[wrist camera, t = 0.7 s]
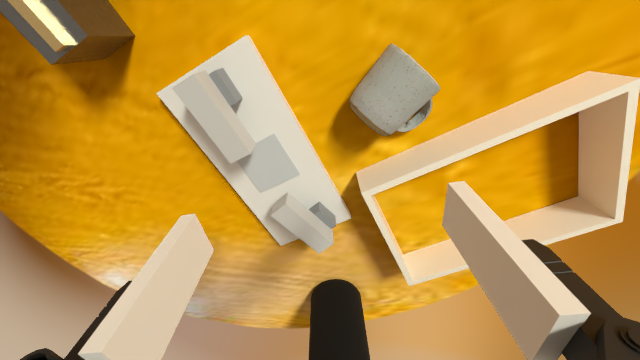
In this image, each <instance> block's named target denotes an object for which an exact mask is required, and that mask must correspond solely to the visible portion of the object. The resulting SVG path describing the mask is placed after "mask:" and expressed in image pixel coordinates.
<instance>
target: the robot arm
mask: <svg viewBox="0 0 640 360" xmlns="http://www.w3.org/2000/svg"><path fill="white" fill-rule="evenodd" d="M442 226H443V227H444V229H445V230H446V232H447V233H448V235H449V237H450V238H451V240H452V241H453V243H454V245H455V246H456V248H457V249H458V251H459V252H460V254H461V256H462V257H463V259H464V260H465V262H466V264H467V265H468V267H469V268H470V270H471V272H472V273H473V275H474V276H475V278H476V279H477V281H478V283H479V284H480V286H481V287H482V289H483V291H484V292H485V294H486V295H487V297H488V299H489V300H490V302H491V303H492V305H493V306H494V308H495V309H496V311H497V313H498V314H499V316H500V317H501V319H502V321H503V322H504V324H505V326H506V327H507V329H508V330H509V332H510V333H511V335H512V337H513V338H514V340H515V341H516V343H517V344H518V346H519V348H520V349H521V351H522V352H523V354H524V356H525V357H526V359H527V360H558V358H559V357H560V355H561V354H563V355H564V356H565V358H566V359H567V360H640V323H639V322H637V321H633V320H630V319H626V318H623V317H622V316H621V315H619V314H618V313H617V312H616V311H615V310H614V309H613V308H612V307H611V306H610V305H608V304H607V303H606V302H605V301H604V300H603V299H602V298H601V297H600V296H599V295H598V294H597V293H596V292H595V291H594V290H593V289H591V287H590V286H588V285H587V284H586V283H585V282H584V281H583V280H582V279H581V278H580V277H579V276H578V275H577V274H576V273H573V272H572V269H570V268H569V267H568V266H567V265H566V264H565V263H563V262H562V260H561V259H560V258H559V257H558V256H557V255H556V254H555V253H554V252H553V251H552V250H550V249H549V248H548V247H546V246H544V245H543V244H541V243H539V242H538V241H536V240H534V239H527V240H520V239H519V238H518V237H517V235H516V234H515V233H514V232H513V231H512V230H511V229H510V228H509V227H508V226H507V225H506V224H505V223H504V222H503V221H502V220H501V219H500V218H499V217H498V216H497V215H496V214H495V213H494V212H493V210H492V209H491V208H490V207H489V206H488V205H487V204H486V203H485V202H484V201H483V200H482V199H481V198H480V197H479V196H478V195H477V194H476V193H475V192H474V191H473V190H472V189H471V188H470V187H469V186H468V184H467V183H466V182H465V181H460V182H452V183H448V188H447V195H446V202H445V209H444V216H443V223H442ZM213 251H214V249H213V247H212V245H211V243H210V241H209V239H208V238H207V236H206V234H205V232H204V230H203V228H202V226H201V224H200V222H199V220H198V218H197V216H196V215H195V214H189V215H181V217H180V218H179V219H178V221H177V222H176V223H175V225H174V226H173V227H172V229H171V230H170V231H169V233H168V234H167V235H166V237H165V238H164V239H163V241H162V242H161V243H160V245H159V246H158V247H157V249H156V250H155V251H154V253H153V254H152V255H151V257H150V258H149V259H148V261H147V262H146V263H145V265H144V266H143V267H142V269H141V270H140V271H139V273H138V274H137V275H136V277H135V278H134V279H133V281H128V282H127V283H126V284H125V285H124V286H123V287H122V288H120V289H119V290H118V291H117V292H116V293H115V295H114V296H113V297H112V298H111V300H110V301H109V302H108V304H107V306H106V307H104V309H103V310H102V311H101V312H100V314H99V317H97V318H96V319H95V320H94V322H93V323H92V324H91V325H90V327H89V328H88V329H87V330H86V332H85V333H84V334H83V336H82V337H81V338H80V339H79V341H78V342H77V343H76V345H75V346H74V347H73V348H72V350H71V351H70V352H69V354H68V355H67V356H66V357H65V358H64V359H63V358H61V357H60V356H58V355H57V354H55V353H54V352H53V351H51V350H49V349H46V348H44V349H40V350H36V351H34V352H32V353H30V354H28V355H26V356H25V357H23V358H22V359H20V360H161V359H162V357H163V355H164V353H165V350H166V348H167V346H168V344H169V342H170V340H171V338H172V336H173V334H174V332H175V330H176V328H177V326H178V324H179V322H180V319H181V317H182V315H183V313H184V311H185V309H186V307H187V305H188V303H189V301H190V299H191V297H192V295H193V293H194V290H195V288H196V286H197V284H198V282H199V280H200V278H201V276H202V274H203V272H204V270H205V268H206V266H207V264H208V261H209V259H210V257H211V255H212V253H213Z"/></svg>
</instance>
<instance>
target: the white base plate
mask: <svg viewBox="0 0 640 360" xmlns="http://www.w3.org/2000/svg"><path fill="white" fill-rule="evenodd" d="M156 94H157V95H158V96H159V97H160V99H161V100H162V101H163V102H164V104H165V105H166V106H167V107H168V108H169V110H170V111H171V112H172V113H173V115H174V116H175V117H176V118H177V119H178V121H179V122H180V123H181V124H182V126H183V127H184V128H185V129H186V131H187V132H188V133H189V134H190V135H191V137H192V138H193V139H194V140H195V142H196V143H197V144H198V145H199V146H200V148H201V149H202V150H203V151H204V153H205V154H206V155H207V156H208V157H209V159H210V160H211V161H212V162H213V164H214V165H215V166H216V167H217V168H218V170H219V171H220V172H221V173H222V175H223V176H224V177H225V178H226V180H227V181H228V182H229V183H230V184H231V186H232V187H233V188H234V189H235V191H236V192H237V193H238V194H239V195H240V197H241V198H242V199H243V200H244V202H245V203H246V204H247V205H248V206H249V208H250V209H251V210H252V211H253V213H254V214H255V215H256V216H257V218H258V219H259V220H260V221H261V222H262V224H263V225H264V226H265V227H266V229H267V230H268V231H269V232H270V233H271V235H272V236H273V237H274V238H275V240H276V241H277V242H278V243H279V244H280V246H282V245H284V244H287V243H289V242H292V241H295V240H297V239H301V240H302V241H304V242H305V243H306V244H307V245H309V246H310V247H311V248H312V249H314V250H315V251H316V252H318V253H321V252H322V251H324V250H325V249H327V248H328V247H330V246H332V245H333V244H334V241H333V230H332V228H334V227H335V226H336V224H338V223H341V222H343V221H346V220H348V219H351V213H350V211H349V209H348V208H347V206H346V204H345V202H344V201H343V199H342V197H341V195H340V194H339V192H338V190H337V188H336V187H335V185H334V183H333V181H332V180H331V178H330V176H329V174H328V173H327V171H326V169H325V167H324V166H323V164H322V162H321V160H320V159H319V157H318V155H317V153H316V152H315V150H314V148H313V146H312V145H311V143H310V141H309V139H308V138H307V136H306V134H305V132H304V130H303V129H302V127H301V125H300V123H299V122H298V120H297V118H296V116H295V115H294V113H293V111H292V109H291V108H290V106H289V104H288V102H287V101H286V99H285V97H284V95H283V94H282V92H281V90H280V88H279V87H278V85H277V83H276V81H275V80H274V78H273V76H272V74H271V73H270V71H269V69H268V67H267V66H266V64H265V62H264V60H263V58H262V57H261V55H260V53H259V51H258V50H257V48H256V46H255V44H254V43H253V41H252V39H251V37H250V36H249V35H246V36H244V37H242V38H241V39H239V40H238V41H236V42H235V43H233V44H232V45H230V46H229V47H227V48H226V49H224V50H222V51H221V52H219V53H218V54H216V55H215V56H213V57H212V58H210V59H209V60H207V61H206V62H204V63H202V64H201V65H199V66H198V67H196V68H195V69H193V70H192V71H190V72H189V73H187V74H185V75H184V76H182V77H181V78H179V79H178V80H176V81H175V82H173V83H172V84H170V85H169V86H167V87H165V88H164V89H162V90H161V91H159V92H158V93H156Z"/></svg>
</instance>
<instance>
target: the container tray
mask: <svg viewBox="0 0 640 360" xmlns="http://www.w3.org/2000/svg"><path fill="white" fill-rule="evenodd" d="M639 88H640V78H637V77H629V76H622V75H614V74H607V73H599V72H592V71H587V72H585V73H582V74H580V75H578V76H576V77H573V78H571V79H569V80H566V81H564V82H562V83H559V84H557V85H555V86H553V87H550V88H548V89H546V90H543V91H541V92H539V93H537V94H534V95H532V96H530V97H527V98H525V99H523V100H520V101H518V102H516V103H514V104H511V105H509V106H507V107H504V108H502V109H500V110H497V111H495V112H493V113H491V114H488V115H486V116H484V117H481V118H479V119H477V120H474V121H472V122H470V123H468V124H465V125H463V126H461V127H458V128H456V129H454V130H451V131H449V132H447V133H445V134H442V135H440V136H438V137H435V138H433V139H431V140H429V141H426V142H424V143H422V144H419V145H417V146H415V147H412V148H410V149H408V150H406V151H403V152H401V153H399V154H396V155H394V156H392V157H389V158H387V159H385V160H383V161H380V162H378V163H376V164H373V165H371V166H369V167H366V168H364V169H362V170H360V171H357V172H356V175H357V179H358V183H359V187H360V191H361V194H362V196H363V198H364V200H365V202H366V204H367V206H368V207H369V209H370V211H371V213H372V215H373V217H374V219H375V221H376V223H377V225H378V227H379V229H380V231H381V233H382V235H383V237H384V238H385V240H386V242H387V244H388V246H389V248H390V250H391V252H392V254H393V256H394V258H395V260H396V262H397V264H398V266H399V268H400V269H401V271H402V273H403V275H404V277H405V279H406V281H407V283H408V285H409V286H411V285H414V284H418V283H421V282H424V281H428V280H431V279H434V278H438V277H441V276H444V275H448V274H451V273H454V272H457V271H461V270H464V269H467V268H469V267H468V265H467V264H466V262H465V260H464V259H463V257H462V256H461V254H460V252H459V251H458V249H457V248H456V246H455V245H454V243H453V241H452V240H451V239H448V240H445V241H442V242H439V243H436V244H433V245H430V246H427V247H424V248H421V249H418V250H415V251H412V252H409V253H406V254H403V253H402V251H401V249H400V247H399V245H398V243H397V241H396V239H395V237H394V235H393V233H392V231H391V229H390V227H389V225H388V223H387V221H386V218H385V216H384V214H383V212H382V210H381V208H380V206H379V204H378V202H377V200H376V198H375V196H374V194H376V193H379V192H381V191H384V190H386V189H389V188H391V187H394V186H396V185H398V184H401V183H403V182H406V181H408V180H411V179H413V178H416V177H418V176H421V175H423V174H426V173H428V172H431V171H433V170H436V169H438V168H440V167H443V166H445V165H448V164H450V163H453V162H455V161H458V160H460V159H463V158H465V157H468V156H470V155H473V154H475V153H478V152H480V151H482V150H485V149H487V148H490V147H492V146H495V145H497V144H500V143H502V142H505V141H507V140H510V139H512V138H515V137H517V136H520V135H522V134H524V133H527V132H529V131H532V130H534V129H537V128H539V127H542V126H544V125H547V124H549V123H552V122H554V121H557V120H559V119H562V118H564V117H567V116H569V115H571V114H574V113H576V112H579V147H578V196H577V197H574V198H571V199H568V200H565V201H562V202H559V203H556V204H553V205H550V206H547V207H544V208H541V209H538V210H535V211H532V212H529V213H526V214H523V215H520V216H517V217H514V218H511V219H508V220H505V221H503V222H504V223H505V224H506V225H507V226H508V227H509V228H510V229H511V230H512V231H513V232H514V233H515V234H516V235H517V237H518V238H519V239H520V240H527V239H534V240H536V241H538V242H539V243H541V244H543V245H547V244H550V243H554V242H557V241H560V240H564V239H567V238H570V237H574V236H577V235H580V234H583V233H587V232H590V231H593V230H597V229H600V228H603V227H607V226H610V225H613V224H617V223H620V222H622V221H623V215H624V207H625V199H626V191H627V183H628V175H629V167H630V159H631V151H632V144H633V136H634V128H635V120H636V112H637V104H638V96H639Z"/></svg>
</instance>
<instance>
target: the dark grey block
mask: <svg viewBox="0 0 640 360" xmlns="http://www.w3.org/2000/svg"><path fill="white" fill-rule="evenodd" d="M0 12H1V13H2V14H3V15H4V16H5V17H6V18H7V19H8V20H9V21H10V22H11V23H12V24H13V25H14V26H15V27H16V29H17V30H18V31H19V32H20V33H21V34H22V35H23V36H24V37H25V38H26V39H27V40H28V41H29V42H30V43H31V44H32V45H33V46H34V47H35V48H36V49H37V50H38V51H39V52H40V53H41V54H42V55H43V56H44V58H45V59H46V60H47V61H48V62H49V63H50V64H51V65H54V64H64V63H73V62H82V61H91V60H100V59H105V58H106V57H107V56H109V55H110V54H111V53H113V52H114V51H115V50H117V49H118V48H120V47H121V46H122V45H124V44H125V43H126V42H128V41H129V40H130V39H132V38H133V37H134V36H135V35H134V34H133V32H132V31H131V30H130V29H129V27H128V26H127V25H126V23H125V22H124V21H123V19H122V18H121V17H120V16H119V14H118V13H117V12H116V10H115V9H114V8H113V6H112V5H111V4H110V3H109V1H108V0H0Z"/></svg>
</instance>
